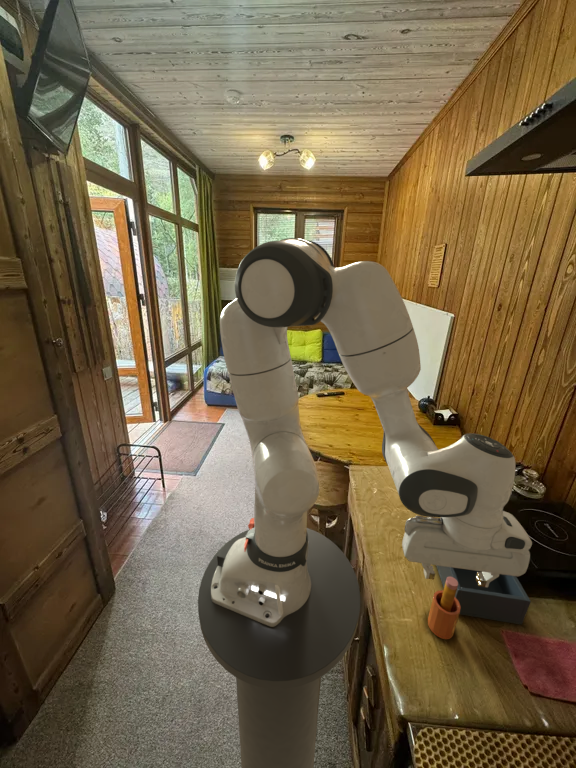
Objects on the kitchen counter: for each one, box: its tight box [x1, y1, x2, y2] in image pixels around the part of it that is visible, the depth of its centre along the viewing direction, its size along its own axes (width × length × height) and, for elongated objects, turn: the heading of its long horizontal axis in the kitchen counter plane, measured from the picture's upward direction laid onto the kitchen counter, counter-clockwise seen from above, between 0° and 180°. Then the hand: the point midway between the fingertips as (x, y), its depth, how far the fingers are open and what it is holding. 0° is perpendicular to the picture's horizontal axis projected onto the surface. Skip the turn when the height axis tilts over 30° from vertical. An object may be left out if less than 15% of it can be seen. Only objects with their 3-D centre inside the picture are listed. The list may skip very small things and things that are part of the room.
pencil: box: [440, 577, 458, 612], centre depth 61 cm, size 2×2×12 cm
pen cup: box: [427, 589, 461, 640], centre depth 62 cm, size 5×5×7 cm
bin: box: [435, 565, 531, 626], centre depth 69 cm, size 14×14×7 cm
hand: (454, 579), depth 58 cm, fingers open, 8 cm apart
